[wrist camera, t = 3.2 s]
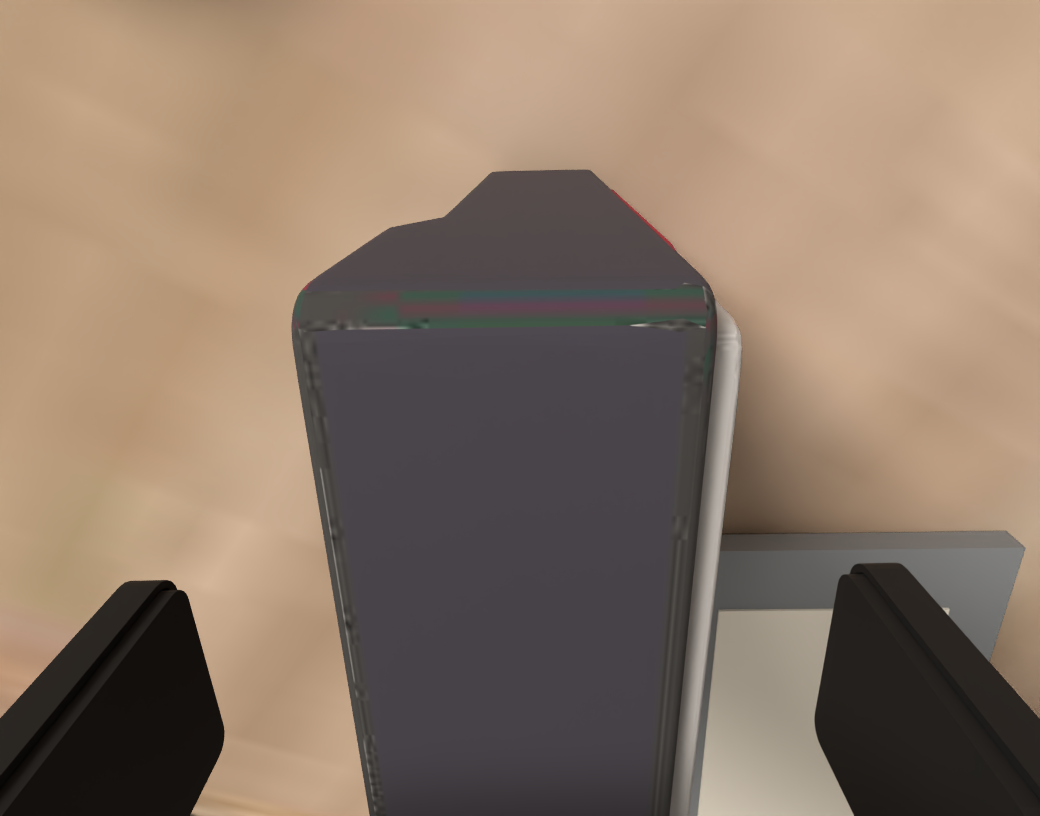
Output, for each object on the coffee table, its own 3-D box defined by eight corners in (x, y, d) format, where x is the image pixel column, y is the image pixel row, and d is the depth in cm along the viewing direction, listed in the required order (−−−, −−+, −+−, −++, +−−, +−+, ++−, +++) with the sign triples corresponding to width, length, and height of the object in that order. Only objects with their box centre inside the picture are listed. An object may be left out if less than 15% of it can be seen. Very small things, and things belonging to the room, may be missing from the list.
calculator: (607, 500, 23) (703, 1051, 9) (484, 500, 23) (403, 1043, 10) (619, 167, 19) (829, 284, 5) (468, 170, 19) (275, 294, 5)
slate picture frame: (1005, 531, 23) (1027, 549, 22) (906, 863, 30) (919, 889, 29) (660, 535, 24) (666, 553, 23) (642, 861, 31) (645, 886, 30)
